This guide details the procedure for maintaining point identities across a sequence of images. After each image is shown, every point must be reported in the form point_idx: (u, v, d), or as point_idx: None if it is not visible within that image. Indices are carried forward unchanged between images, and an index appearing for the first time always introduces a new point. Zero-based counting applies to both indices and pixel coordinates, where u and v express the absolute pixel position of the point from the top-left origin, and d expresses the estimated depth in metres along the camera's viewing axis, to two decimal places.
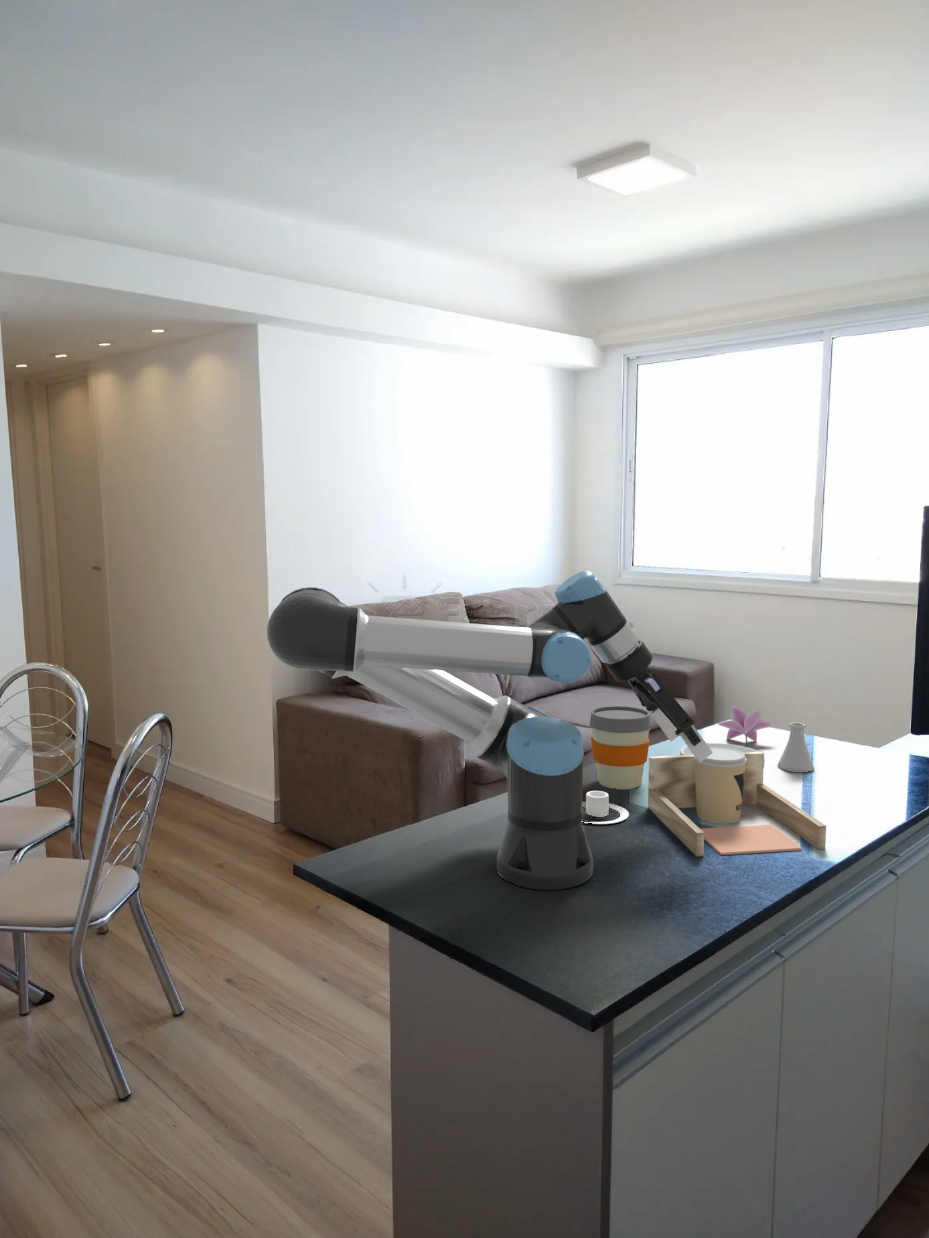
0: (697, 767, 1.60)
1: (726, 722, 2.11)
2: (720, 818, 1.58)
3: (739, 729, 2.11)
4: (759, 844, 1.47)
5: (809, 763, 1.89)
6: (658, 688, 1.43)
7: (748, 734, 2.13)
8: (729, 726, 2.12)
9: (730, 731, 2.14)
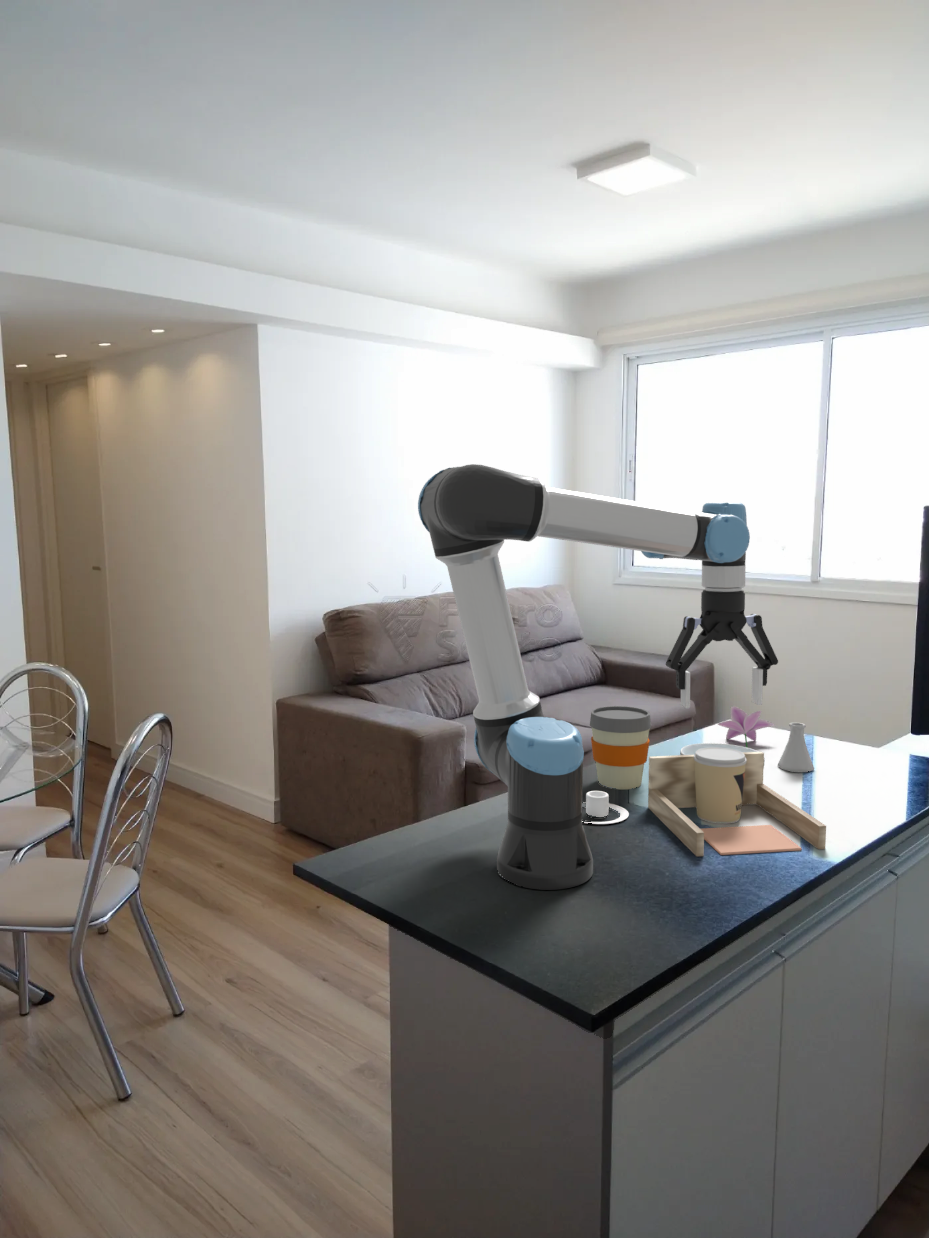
0: (697, 767, 1.60)
1: (725, 722, 2.12)
2: (720, 818, 1.58)
3: (738, 729, 2.11)
4: (759, 844, 1.47)
5: (809, 763, 1.89)
6: None
7: (747, 734, 2.13)
8: (728, 726, 2.12)
9: (729, 731, 2.14)
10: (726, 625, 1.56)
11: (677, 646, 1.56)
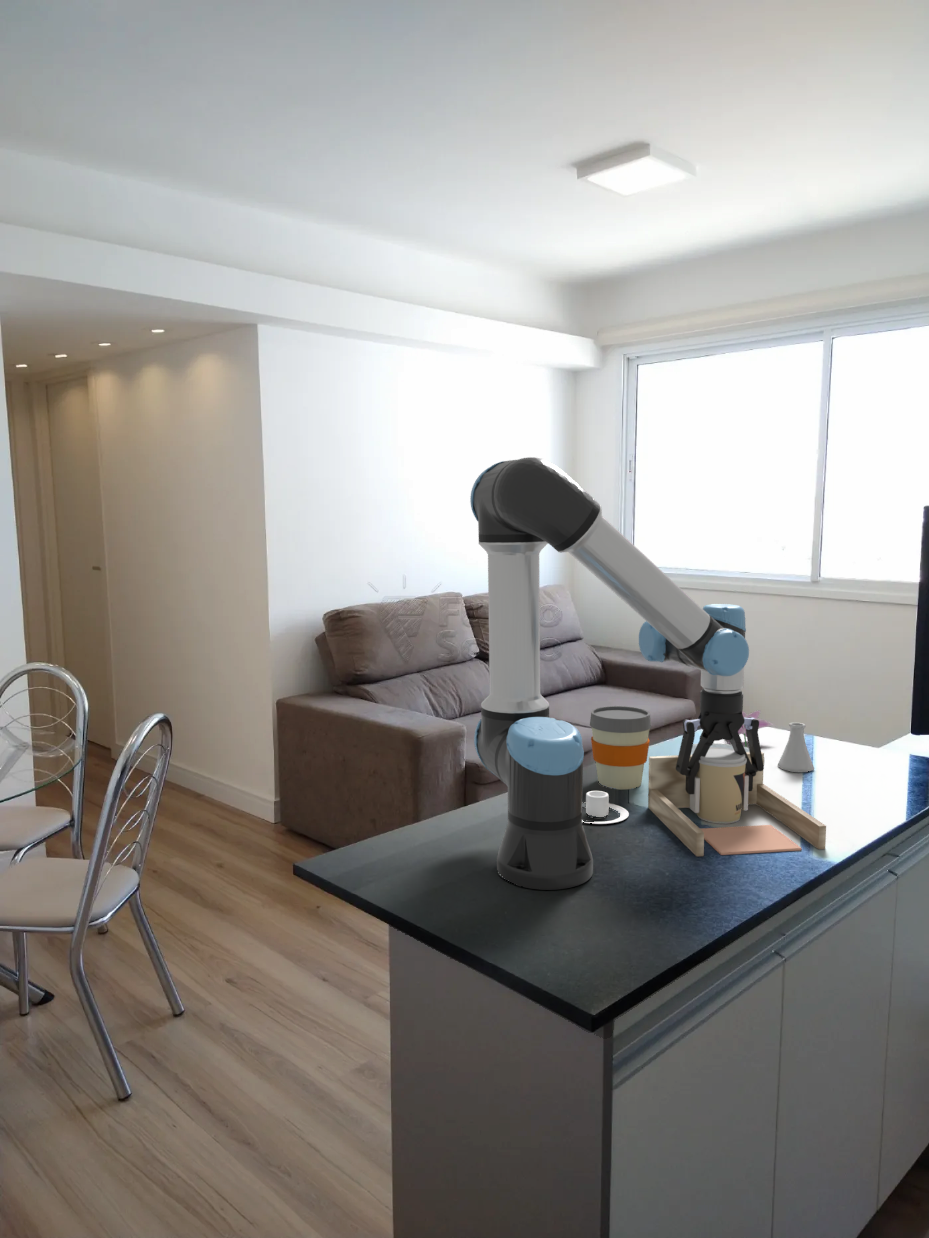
0: None
1: None
2: (720, 818, 1.58)
3: None
4: (759, 844, 1.47)
5: (809, 763, 1.89)
6: None
7: None
8: None
9: None
10: (724, 723, 1.58)
11: (682, 751, 1.59)
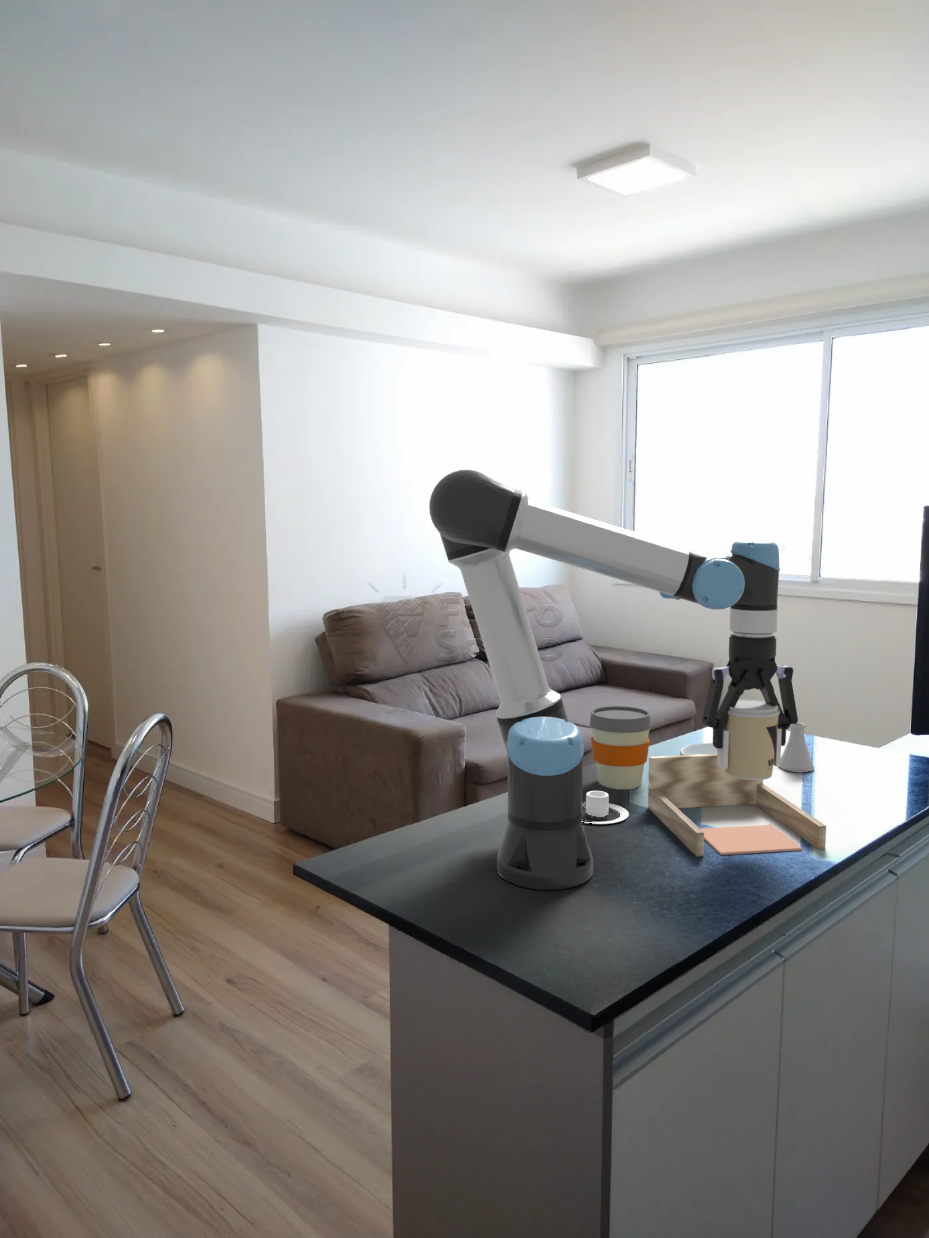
0: None
1: None
2: (751, 774, 1.45)
3: None
4: (759, 844, 1.47)
5: (809, 763, 1.89)
6: None
7: None
8: None
9: None
10: (756, 671, 1.45)
11: (710, 702, 1.46)
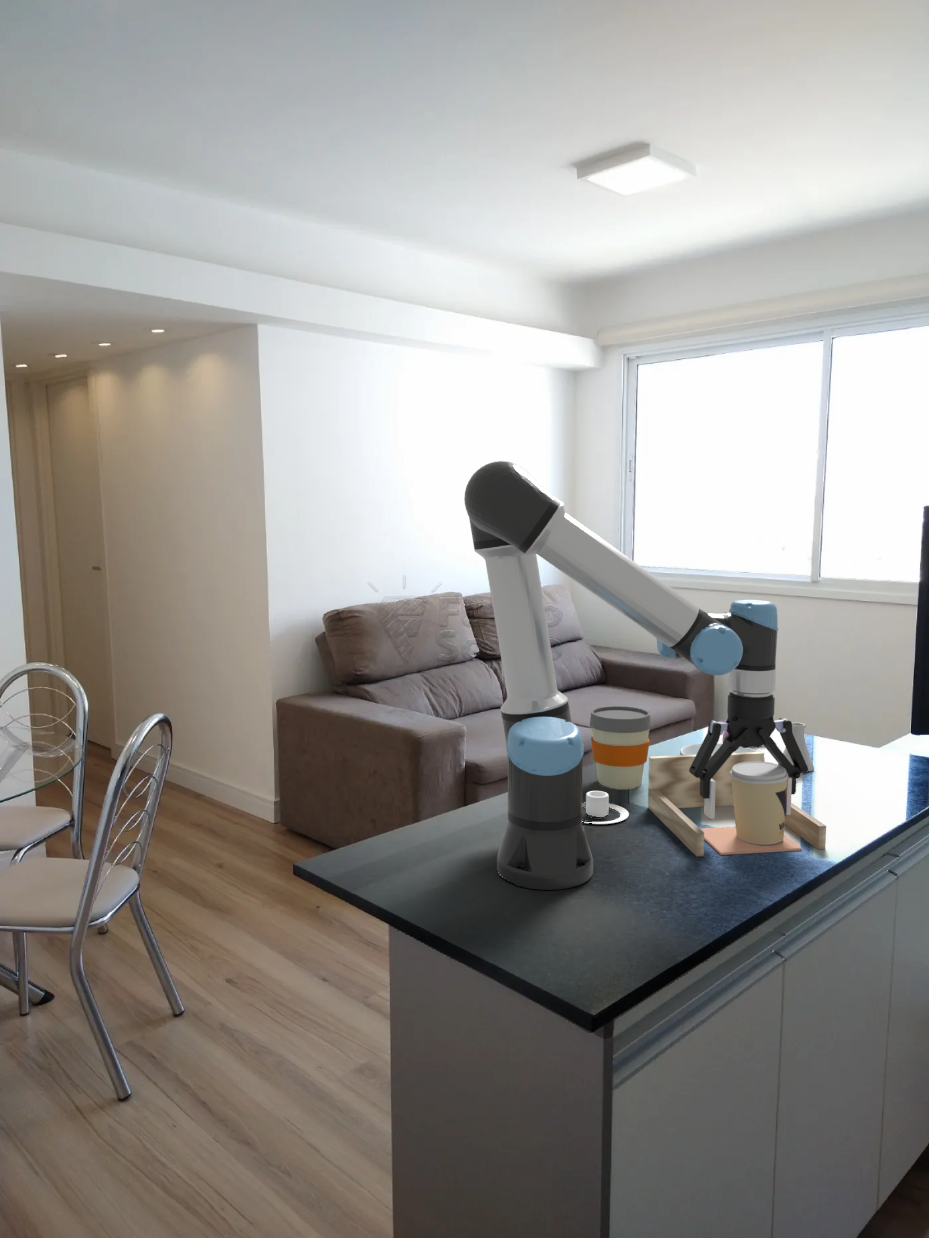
0: (734, 785, 1.48)
1: (723, 721, 2.12)
2: (763, 839, 1.46)
3: None
4: None
5: (809, 763, 1.89)
6: None
7: None
8: None
9: None
10: (754, 731, 1.46)
11: (702, 753, 1.46)
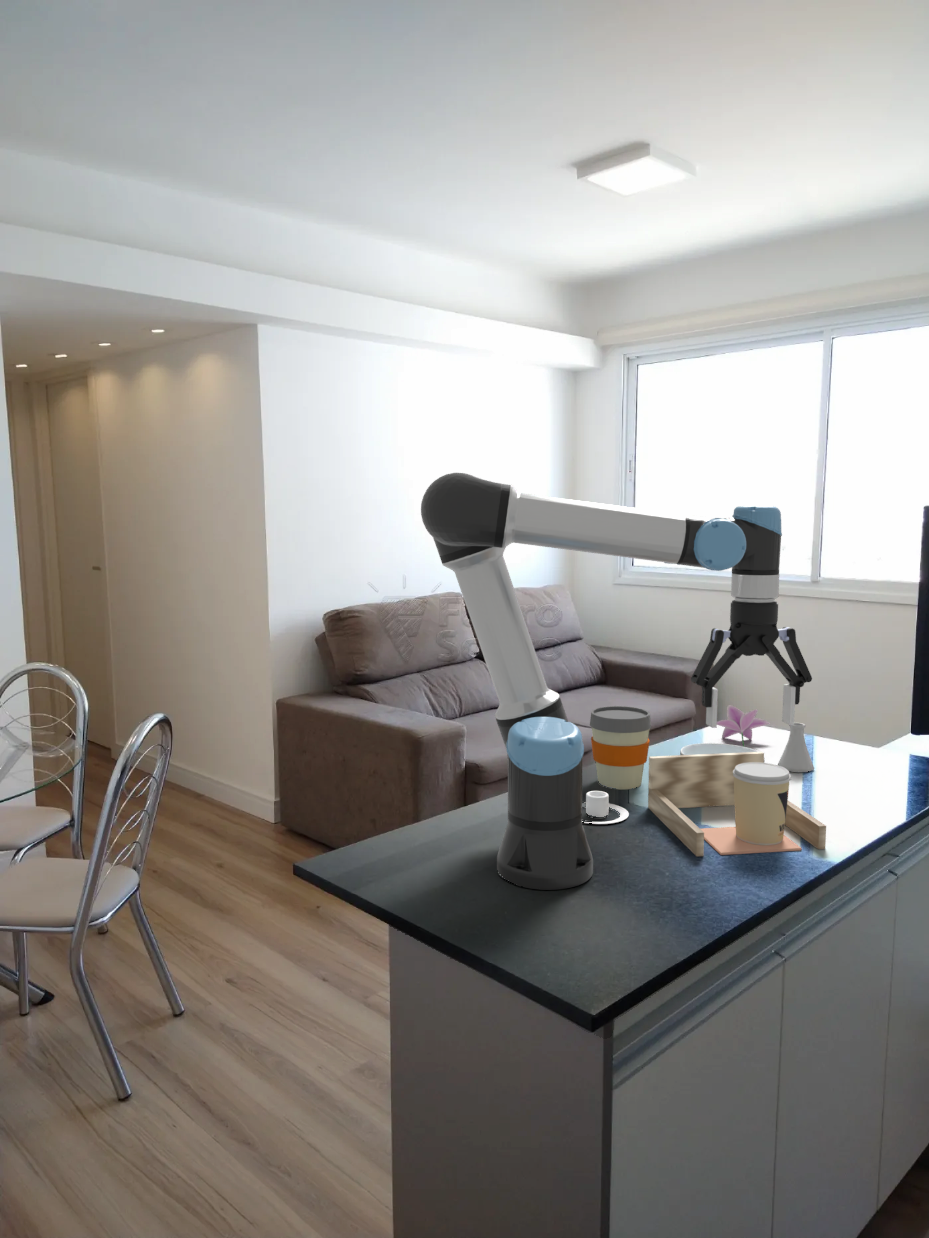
0: (737, 784, 1.48)
1: (722, 721, 2.13)
2: (763, 840, 1.46)
3: (735, 728, 2.12)
4: None
5: (809, 763, 1.89)
6: None
7: (743, 733, 2.14)
8: (725, 725, 2.13)
9: (725, 730, 2.15)
10: (757, 639, 1.44)
11: (704, 660, 1.45)
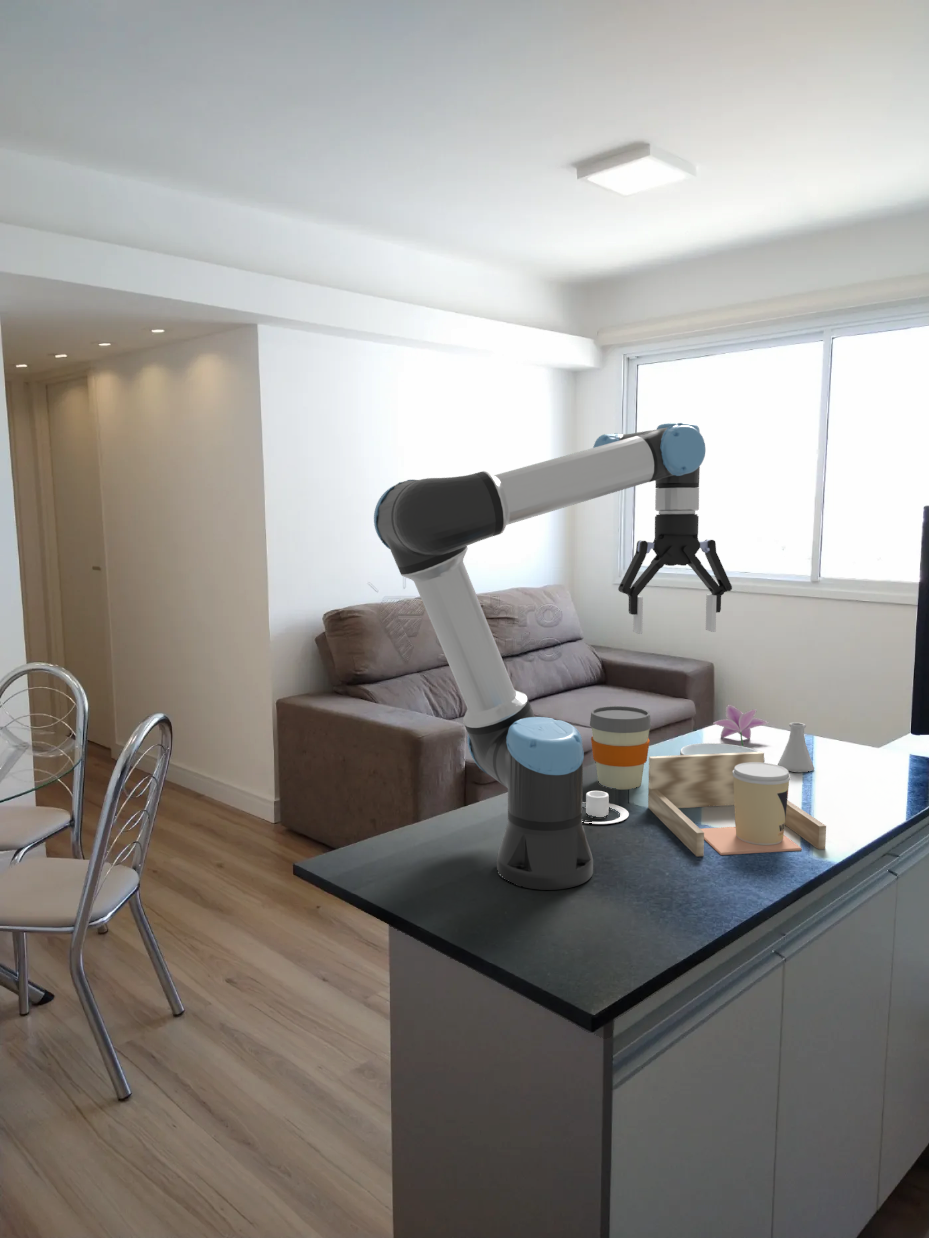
0: (736, 784, 1.48)
1: (721, 721, 2.13)
2: (763, 840, 1.46)
3: (733, 727, 2.12)
4: None
5: (809, 763, 1.89)
6: None
7: (742, 732, 2.14)
8: (724, 725, 2.14)
9: (724, 730, 2.16)
10: (679, 549, 1.54)
11: (629, 570, 1.54)
